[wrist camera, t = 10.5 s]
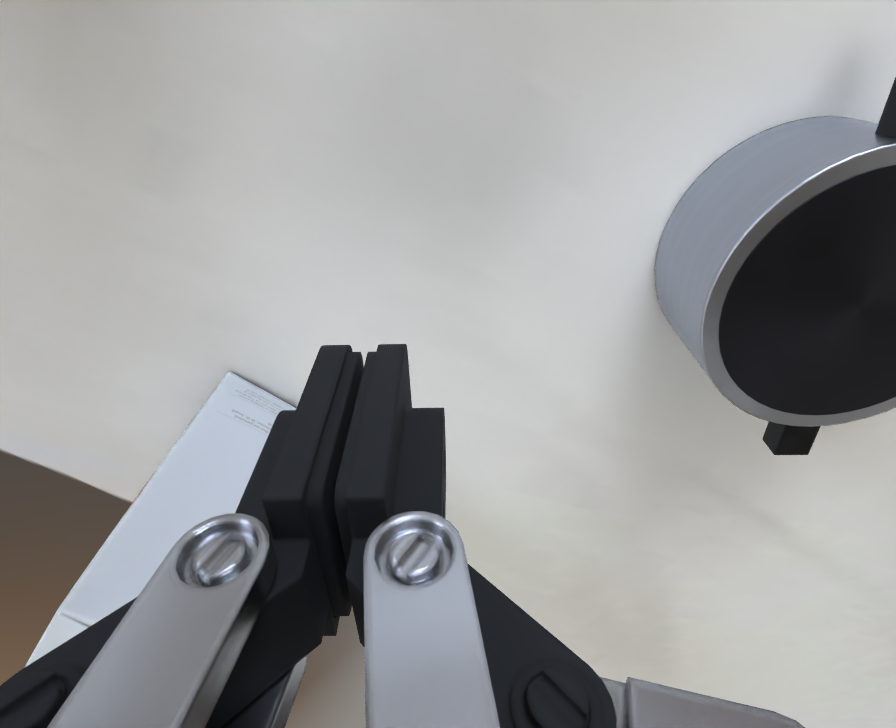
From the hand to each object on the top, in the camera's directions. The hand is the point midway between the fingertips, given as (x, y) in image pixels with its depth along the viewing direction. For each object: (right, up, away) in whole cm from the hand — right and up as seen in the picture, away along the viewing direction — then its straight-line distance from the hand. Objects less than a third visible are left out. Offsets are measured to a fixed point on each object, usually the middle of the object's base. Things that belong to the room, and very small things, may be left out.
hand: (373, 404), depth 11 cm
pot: (+18, +6, +15) cm, 24 cm away
